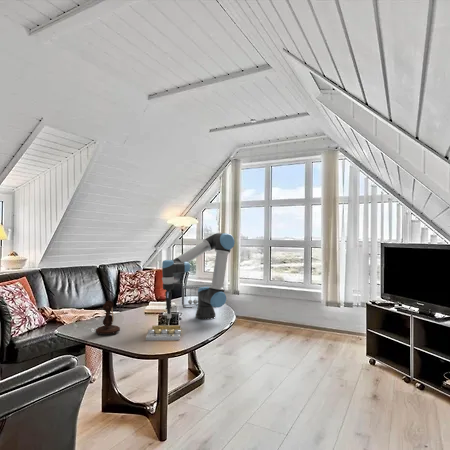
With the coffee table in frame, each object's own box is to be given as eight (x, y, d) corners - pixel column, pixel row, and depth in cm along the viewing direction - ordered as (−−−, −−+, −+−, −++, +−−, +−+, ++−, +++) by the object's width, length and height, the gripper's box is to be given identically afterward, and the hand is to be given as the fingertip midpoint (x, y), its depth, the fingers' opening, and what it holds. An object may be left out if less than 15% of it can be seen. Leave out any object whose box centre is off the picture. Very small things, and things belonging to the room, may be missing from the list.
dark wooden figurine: (118, 335, 220) (119, 303, 221) (93, 336, 217) (94, 304, 218) (120, 329, 235) (121, 299, 235) (97, 330, 232) (98, 299, 232)
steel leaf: (180, 334, 223) (180, 328, 223) (179, 340, 212) (179, 333, 212) (149, 335, 222) (149, 329, 222) (145, 340, 211) (145, 334, 211)
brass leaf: (181, 331, 230) (181, 325, 231) (180, 336, 220) (180, 330, 220) (150, 331, 230) (151, 325, 230) (148, 336, 219) (148, 330, 219)
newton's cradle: (182, 308, 299) (182, 287, 299) (181, 305, 309) (181, 285, 309) (217, 307, 304) (217, 286, 305) (215, 304, 315) (215, 284, 315)
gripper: (163, 281, 244) (164, 315, 244) (161, 285, 231) (162, 321, 231) (174, 281, 244) (175, 315, 244) (172, 284, 231) (173, 320, 231)
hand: (169, 318), depth 238 cm, fingers closed
